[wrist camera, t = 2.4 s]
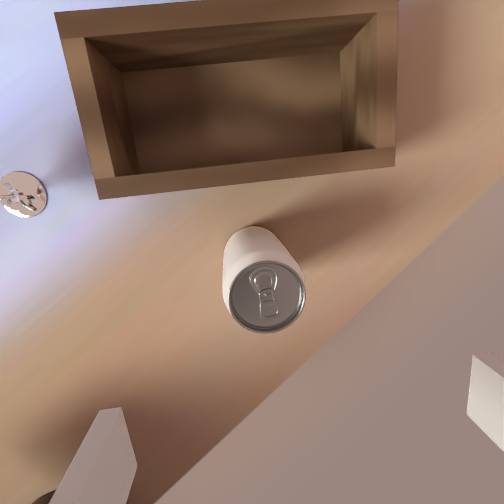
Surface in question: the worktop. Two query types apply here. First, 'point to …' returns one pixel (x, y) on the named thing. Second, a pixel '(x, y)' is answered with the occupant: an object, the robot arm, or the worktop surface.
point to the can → (261, 281)
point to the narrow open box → (232, 90)
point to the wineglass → (22, 194)
